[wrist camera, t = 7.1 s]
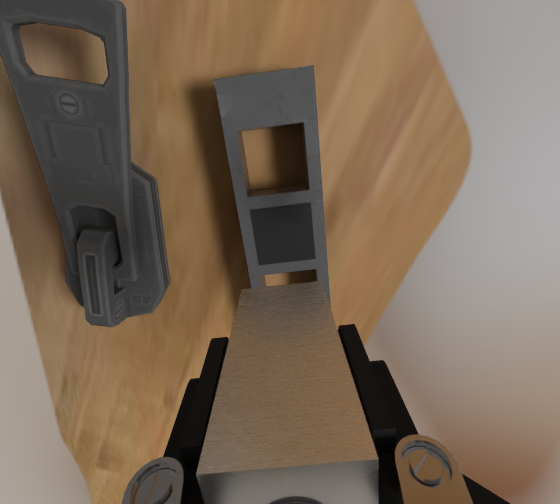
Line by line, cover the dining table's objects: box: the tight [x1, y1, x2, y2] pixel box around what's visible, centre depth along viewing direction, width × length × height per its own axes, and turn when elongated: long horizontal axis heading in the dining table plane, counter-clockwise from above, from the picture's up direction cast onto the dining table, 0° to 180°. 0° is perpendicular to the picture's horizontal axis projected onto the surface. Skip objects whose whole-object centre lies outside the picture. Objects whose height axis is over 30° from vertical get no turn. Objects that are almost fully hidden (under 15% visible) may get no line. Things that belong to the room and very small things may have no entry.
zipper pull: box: [0, 0, 170, 327], centre depth 24 cm, size 9×7×25 cm
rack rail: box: [214, 65, 331, 309], centre depth 27 cm, size 24×7×3 cm, turn 7°
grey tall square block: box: [196, 281, 379, 504], centre depth 10 cm, size 4×4×8 cm
